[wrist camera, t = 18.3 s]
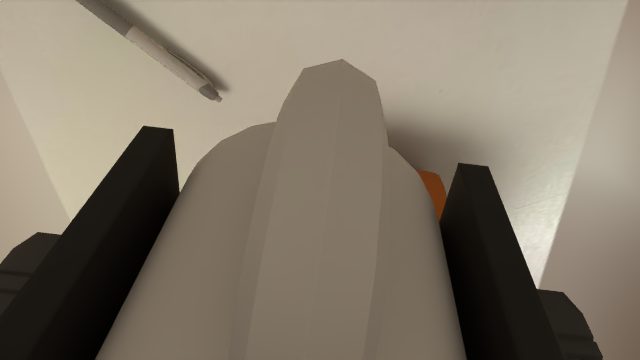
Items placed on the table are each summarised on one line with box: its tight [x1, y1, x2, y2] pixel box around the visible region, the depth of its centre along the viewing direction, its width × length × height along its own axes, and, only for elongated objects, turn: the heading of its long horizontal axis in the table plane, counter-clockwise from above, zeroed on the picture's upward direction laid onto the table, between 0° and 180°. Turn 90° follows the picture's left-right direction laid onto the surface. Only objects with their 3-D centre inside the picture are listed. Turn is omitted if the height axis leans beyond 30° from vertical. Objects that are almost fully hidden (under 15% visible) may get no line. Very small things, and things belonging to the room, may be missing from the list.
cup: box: [95, 59, 467, 360], centre depth 9 cm, size 7×10×9 cm
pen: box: [76, 0, 222, 102], centre depth 33 cm, size 1×14×1 cm, turn 49°
